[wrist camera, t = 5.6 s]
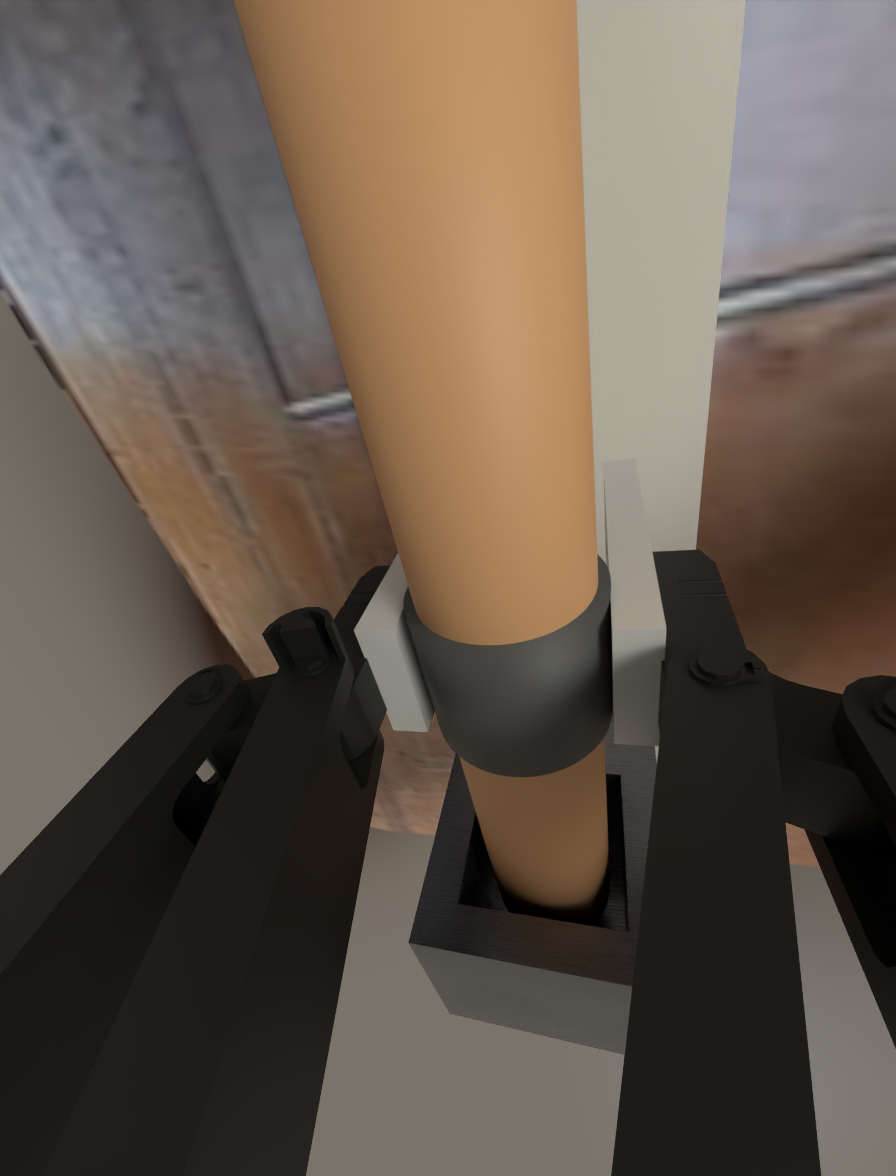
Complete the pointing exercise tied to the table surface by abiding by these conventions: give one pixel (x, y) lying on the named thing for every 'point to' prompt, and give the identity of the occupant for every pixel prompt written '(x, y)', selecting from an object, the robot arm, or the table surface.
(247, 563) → the table surface
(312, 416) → the table surface
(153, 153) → the table surface
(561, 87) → the orange tube
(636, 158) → the baseboard
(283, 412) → the table surface
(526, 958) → the charcoal socket
